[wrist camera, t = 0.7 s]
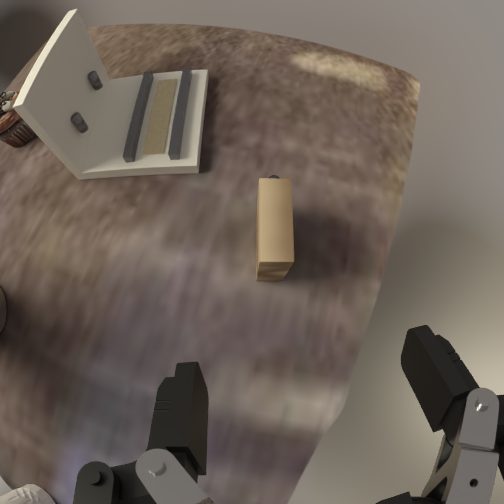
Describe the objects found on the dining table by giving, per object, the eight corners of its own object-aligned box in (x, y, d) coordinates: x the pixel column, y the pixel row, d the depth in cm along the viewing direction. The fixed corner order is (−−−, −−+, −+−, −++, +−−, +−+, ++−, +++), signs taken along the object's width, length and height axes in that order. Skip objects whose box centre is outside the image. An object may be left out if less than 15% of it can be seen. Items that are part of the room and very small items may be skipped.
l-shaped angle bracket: (79, 179, 41) (12, 107, 23) (105, 88, 45) (68, 11, 28) (198, 173, 41) (172, 75, 23) (208, 77, 45) (197, -15, 28)
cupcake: (51, 126, 43) (24, 91, 34) (11, 162, 42) (-21, 133, 32) (39, 100, 45) (16, 68, 36) (2, 133, 44) (-25, 105, 34)
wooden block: (256, 280, 37) (259, 261, 28) (256, 209, 40) (259, 170, 30) (282, 280, 37) (294, 261, 28) (280, 209, 40) (290, 170, 30)
